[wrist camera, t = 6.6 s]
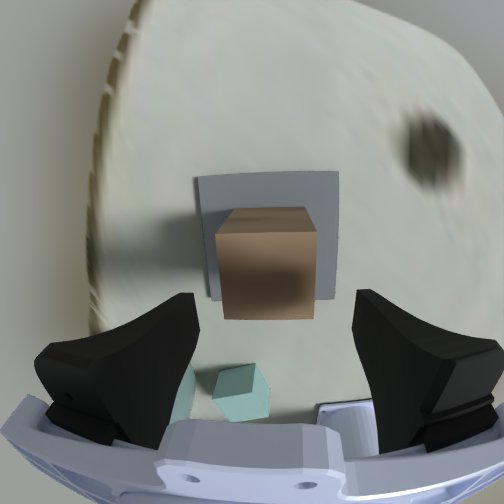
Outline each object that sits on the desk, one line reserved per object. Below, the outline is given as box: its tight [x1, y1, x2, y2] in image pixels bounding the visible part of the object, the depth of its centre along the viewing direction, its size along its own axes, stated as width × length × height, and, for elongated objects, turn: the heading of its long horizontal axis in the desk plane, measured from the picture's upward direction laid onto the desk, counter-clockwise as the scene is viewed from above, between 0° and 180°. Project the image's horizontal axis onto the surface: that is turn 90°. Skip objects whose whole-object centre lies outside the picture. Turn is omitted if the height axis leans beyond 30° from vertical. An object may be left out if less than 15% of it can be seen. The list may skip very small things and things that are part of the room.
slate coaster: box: [198, 171, 339, 301], centre depth 21 cm, size 10×10×1 cm
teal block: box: [212, 363, 270, 422], centre depth 25 cm, size 4×4×4 cm
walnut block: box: [215, 207, 317, 320], centre depth 17 cm, size 5×5×6 cm
